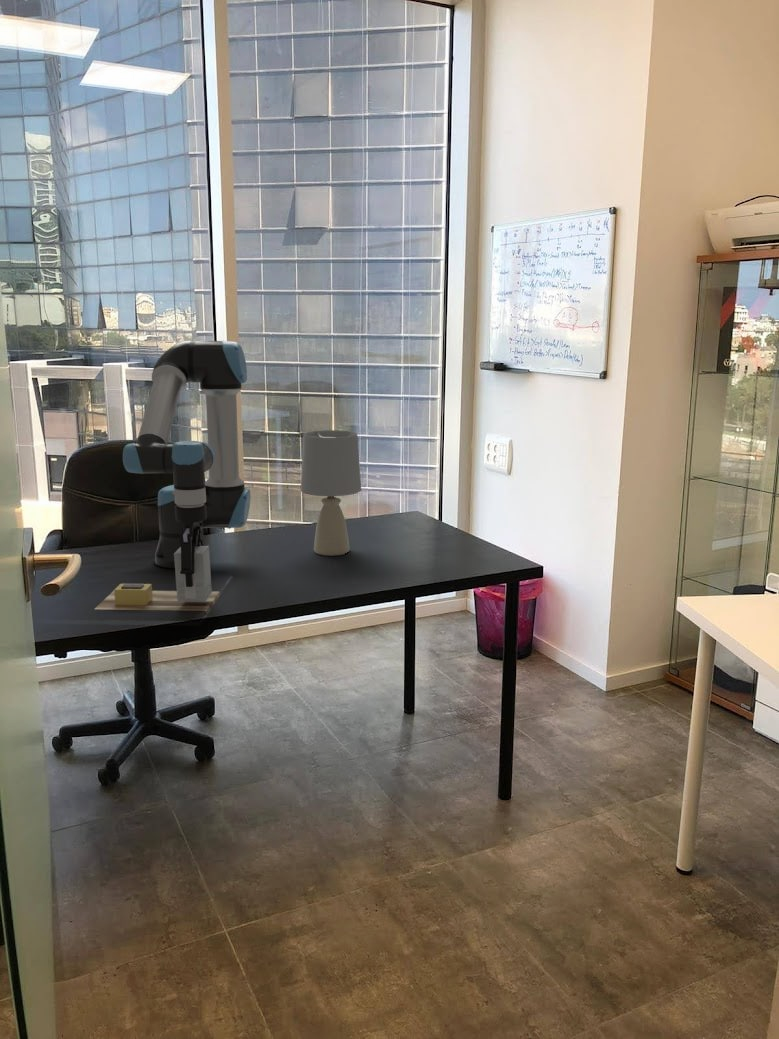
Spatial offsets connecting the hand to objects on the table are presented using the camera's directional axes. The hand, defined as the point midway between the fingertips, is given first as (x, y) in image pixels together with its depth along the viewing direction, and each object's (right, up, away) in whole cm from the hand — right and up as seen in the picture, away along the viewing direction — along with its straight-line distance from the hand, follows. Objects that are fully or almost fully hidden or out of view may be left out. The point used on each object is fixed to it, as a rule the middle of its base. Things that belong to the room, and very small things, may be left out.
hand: (194, 593), depth 217 cm
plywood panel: (-10, -3, +3) cm, 11 cm away
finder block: (-16, -2, +2) cm, 16 cm away
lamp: (+31, +8, +53) cm, 62 cm away
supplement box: (0, -1, 0) cm, 1 cm away
